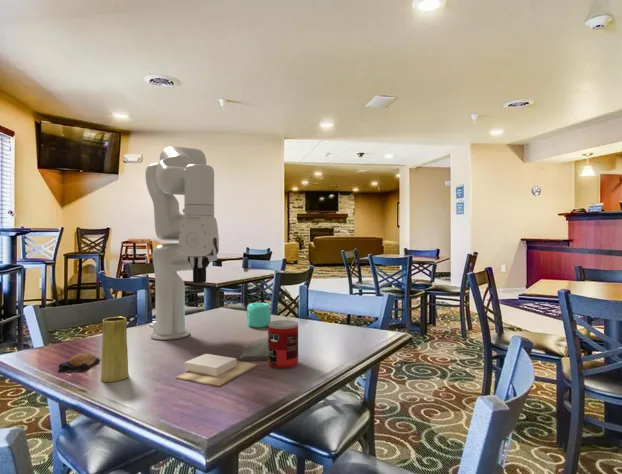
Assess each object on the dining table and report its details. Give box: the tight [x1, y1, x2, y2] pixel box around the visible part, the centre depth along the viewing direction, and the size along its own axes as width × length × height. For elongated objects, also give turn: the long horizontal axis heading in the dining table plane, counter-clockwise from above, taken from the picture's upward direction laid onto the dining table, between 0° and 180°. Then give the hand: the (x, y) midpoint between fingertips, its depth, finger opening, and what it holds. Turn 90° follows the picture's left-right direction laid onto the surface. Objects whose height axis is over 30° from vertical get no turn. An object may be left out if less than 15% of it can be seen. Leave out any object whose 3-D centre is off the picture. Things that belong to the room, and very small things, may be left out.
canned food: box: [267, 319, 299, 369], centre depth 105 cm, size 8×8×11 cm
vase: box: [100, 316, 130, 383], centre depth 96 cm, size 6×6×14 cm
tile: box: [184, 353, 237, 376], centre depth 101 cm, size 2×8×10 cm
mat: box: [175, 360, 258, 387], centre depth 100 cm, size 13×16×1 cm
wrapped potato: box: [56, 352, 102, 374], centre depth 105 cm, size 11×8×4 cm
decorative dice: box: [246, 302, 272, 329], centre depth 151 cm, size 8×8×8 cm
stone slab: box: [239, 336, 268, 361], centre depth 120 cm, size 22×3×10 cm
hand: (199, 282), depth 103 cm, fingers closed
